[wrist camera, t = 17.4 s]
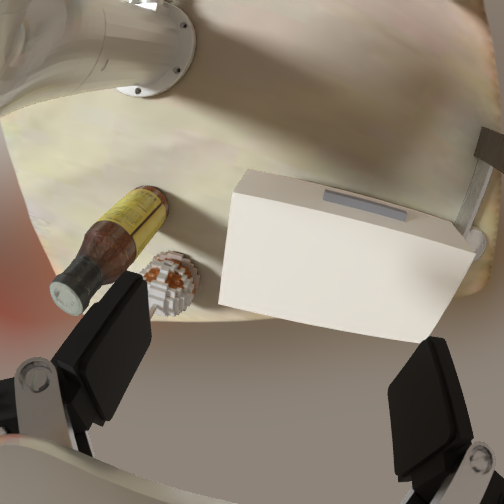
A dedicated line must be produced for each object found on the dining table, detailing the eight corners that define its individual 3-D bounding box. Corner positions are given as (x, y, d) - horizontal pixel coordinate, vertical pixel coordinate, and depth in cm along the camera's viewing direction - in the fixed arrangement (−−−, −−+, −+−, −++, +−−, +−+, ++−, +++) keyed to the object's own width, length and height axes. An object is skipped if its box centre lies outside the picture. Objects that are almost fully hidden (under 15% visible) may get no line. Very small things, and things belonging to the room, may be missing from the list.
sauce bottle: (123, 192, 40) (26, 272, 23) (158, 176, 38) (60, 257, 21) (144, 232, 43) (63, 326, 26) (179, 220, 41) (101, 320, 24)
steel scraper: (482, 126, 27) (517, 140, 20) (495, 133, 27) (531, 149, 20) (436, 251, 37) (457, 286, 30) (449, 255, 37) (471, 290, 30)
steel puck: (457, 221, 34) (463, 228, 33) (485, 226, 34) (490, 232, 32) (447, 254, 37) (452, 261, 35) (474, 257, 36) (479, 264, 35)
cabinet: (256, 150, 35) (233, 182, 24) (437, 198, 33) (479, 246, 23) (241, 245, 41) (218, 304, 31) (402, 281, 40) (423, 343, 30)
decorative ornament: (203, 257, 43) (162, 333, 31) (198, 298, 48) (163, 374, 35) (152, 243, 44) (99, 310, 31) (152, 285, 48) (108, 353, 35)
